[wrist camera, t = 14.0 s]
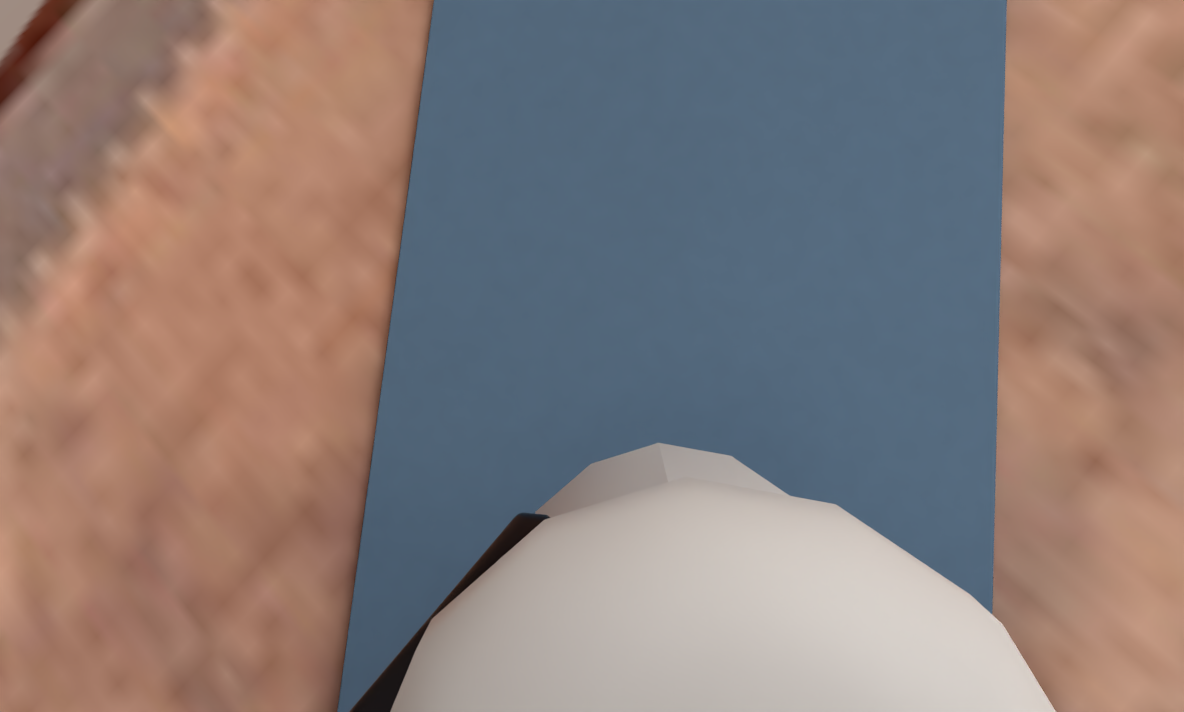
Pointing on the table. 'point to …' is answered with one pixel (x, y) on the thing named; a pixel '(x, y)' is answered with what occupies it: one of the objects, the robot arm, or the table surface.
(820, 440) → the slate mat
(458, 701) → the salt shaker
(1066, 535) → the table surface
